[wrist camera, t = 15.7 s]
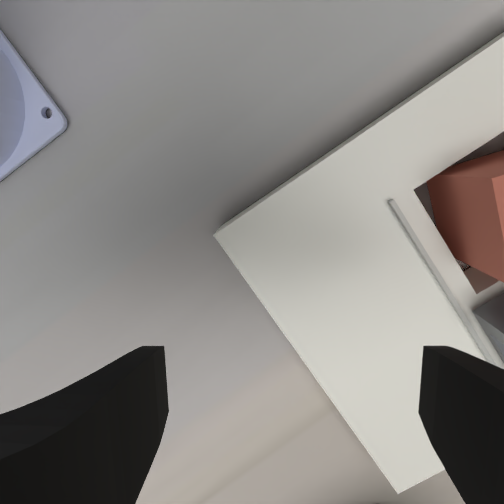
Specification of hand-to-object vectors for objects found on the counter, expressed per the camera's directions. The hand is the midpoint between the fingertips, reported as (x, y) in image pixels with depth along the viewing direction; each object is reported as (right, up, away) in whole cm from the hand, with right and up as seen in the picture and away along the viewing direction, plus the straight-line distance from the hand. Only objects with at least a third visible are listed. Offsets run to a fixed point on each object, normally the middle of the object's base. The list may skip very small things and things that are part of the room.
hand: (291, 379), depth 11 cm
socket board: (+8, +3, +9) cm, 13 cm away
